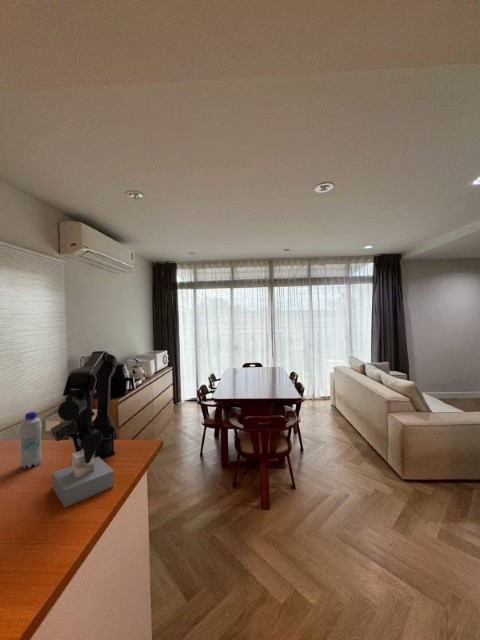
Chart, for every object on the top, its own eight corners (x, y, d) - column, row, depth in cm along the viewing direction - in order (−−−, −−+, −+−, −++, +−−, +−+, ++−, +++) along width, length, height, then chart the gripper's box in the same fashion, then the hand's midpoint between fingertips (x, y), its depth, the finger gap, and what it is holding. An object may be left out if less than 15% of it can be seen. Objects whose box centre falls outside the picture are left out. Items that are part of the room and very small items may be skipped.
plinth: (98, 470, 99) (98, 456, 99) (114, 486, 89) (113, 470, 89) (52, 487, 89) (52, 472, 89) (64, 507, 79) (64, 490, 79)
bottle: (46, 462, 105) (45, 410, 105) (28, 471, 99) (27, 415, 99) (34, 459, 108) (33, 408, 108) (15, 468, 101) (14, 414, 101)
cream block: (88, 465, 93) (88, 448, 93) (94, 471, 89) (93, 452, 89) (72, 471, 89) (71, 453, 89) (76, 477, 85) (76, 458, 86)
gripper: (46, 409, 90) (46, 457, 90) (61, 423, 77) (61, 479, 77) (83, 402, 98) (84, 446, 98) (103, 413, 85) (103, 464, 85)
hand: (82, 457), depth 89 cm, fingers open, 9 cm apart
